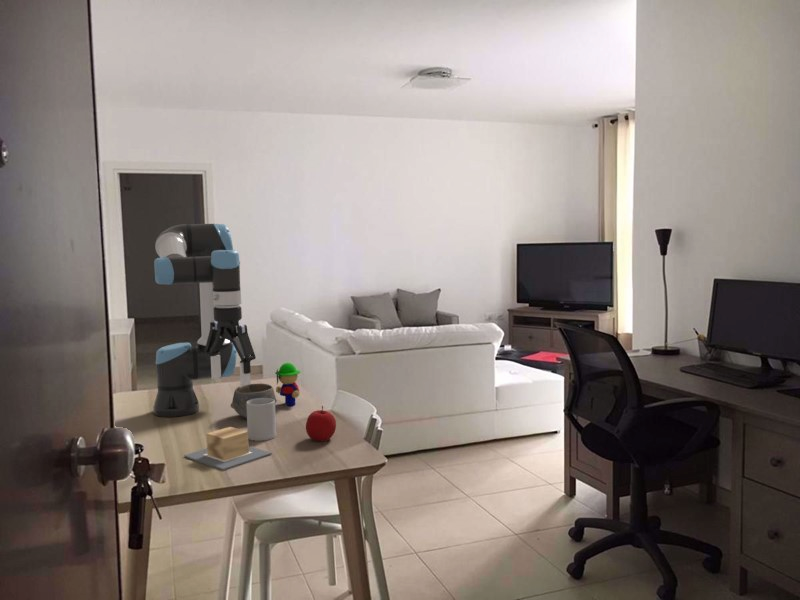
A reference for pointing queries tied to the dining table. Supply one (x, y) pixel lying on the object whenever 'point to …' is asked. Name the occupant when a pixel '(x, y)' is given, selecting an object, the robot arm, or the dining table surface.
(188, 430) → the dining table surface
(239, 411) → the bowl
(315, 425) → the apple
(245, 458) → the grey rectangular mat
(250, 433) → the mug
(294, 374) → the toy
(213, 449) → the oak block
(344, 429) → the dining table surface
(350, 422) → the dining table surface
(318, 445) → the dining table surface
